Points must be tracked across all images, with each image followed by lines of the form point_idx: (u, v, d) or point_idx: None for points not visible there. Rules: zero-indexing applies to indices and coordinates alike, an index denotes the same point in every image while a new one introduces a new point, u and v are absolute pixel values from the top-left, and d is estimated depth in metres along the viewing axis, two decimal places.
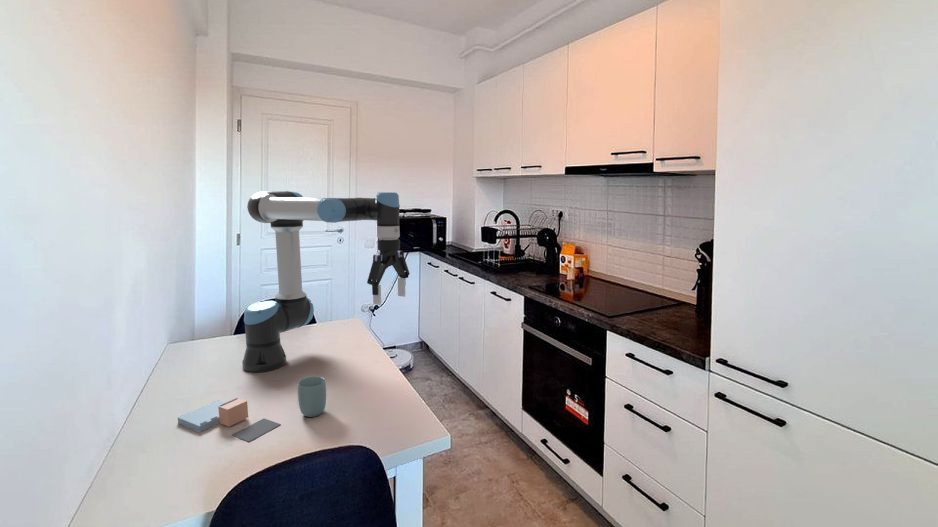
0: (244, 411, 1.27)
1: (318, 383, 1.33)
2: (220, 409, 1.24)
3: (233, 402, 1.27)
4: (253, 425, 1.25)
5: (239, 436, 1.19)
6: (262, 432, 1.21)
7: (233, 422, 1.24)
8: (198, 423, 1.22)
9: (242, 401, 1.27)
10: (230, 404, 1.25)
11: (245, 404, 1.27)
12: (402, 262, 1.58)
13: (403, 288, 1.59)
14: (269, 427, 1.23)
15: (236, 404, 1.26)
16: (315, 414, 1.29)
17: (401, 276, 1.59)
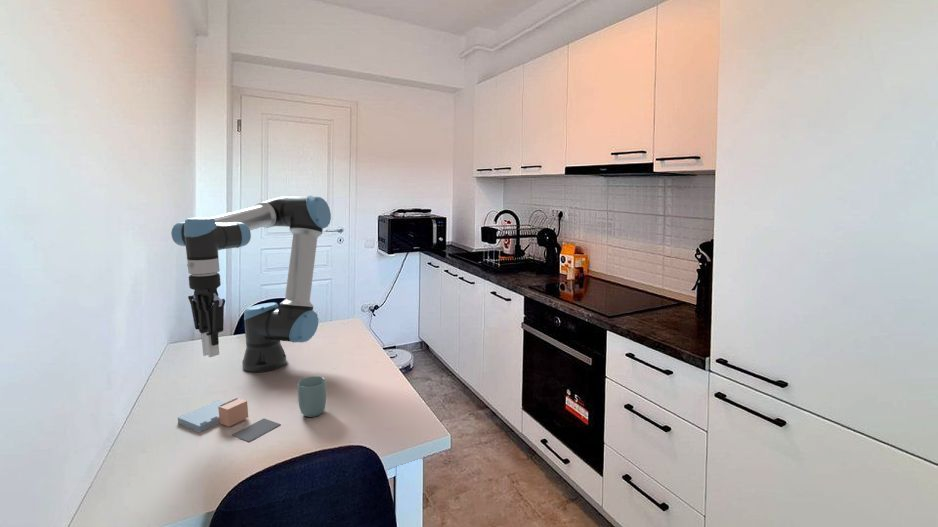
0: (244, 411, 1.27)
1: (318, 383, 1.33)
2: (220, 409, 1.24)
3: (233, 402, 1.27)
4: (253, 425, 1.25)
5: (239, 436, 1.19)
6: (262, 432, 1.21)
7: (233, 422, 1.24)
8: (198, 423, 1.22)
9: (242, 401, 1.27)
10: (230, 404, 1.25)
11: (245, 404, 1.27)
12: None
13: None
14: (269, 427, 1.23)
15: (236, 404, 1.26)
16: (315, 414, 1.29)
17: None
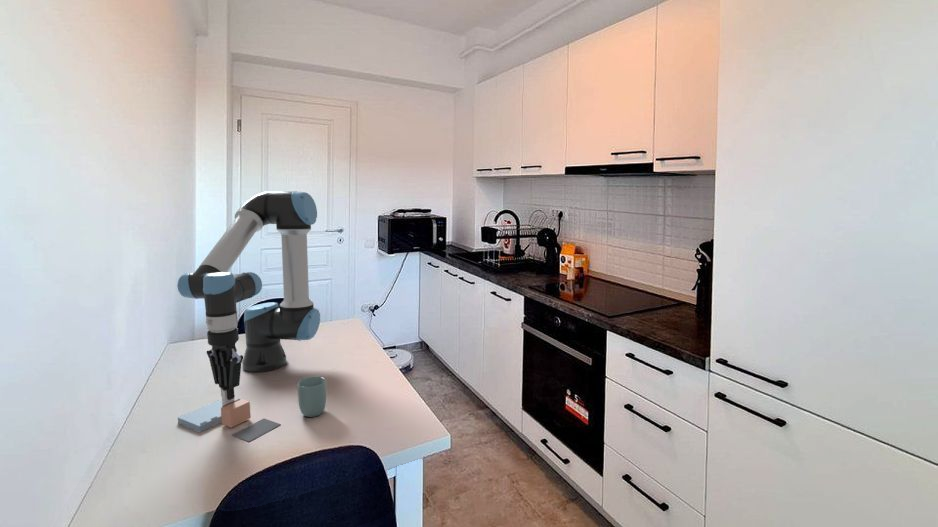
0: (246, 412, 1.27)
1: (318, 383, 1.33)
2: (222, 410, 1.24)
3: (235, 403, 1.26)
4: (253, 425, 1.25)
5: (239, 436, 1.19)
6: (262, 432, 1.21)
7: (235, 423, 1.24)
8: (198, 423, 1.22)
9: (244, 402, 1.27)
10: (232, 405, 1.25)
11: (247, 405, 1.27)
12: None
13: None
14: (269, 427, 1.23)
15: (238, 405, 1.25)
16: (315, 414, 1.29)
17: None
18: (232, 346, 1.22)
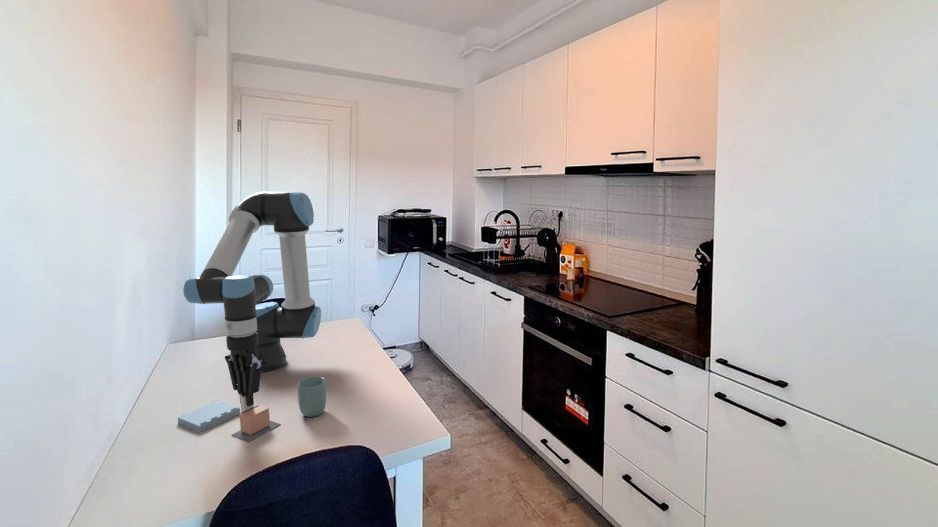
0: (266, 418, 1.23)
1: (318, 383, 1.33)
2: (241, 417, 1.20)
3: (254, 409, 1.23)
4: None
5: (239, 436, 1.19)
6: (262, 432, 1.21)
7: (255, 430, 1.20)
8: (198, 423, 1.22)
9: (264, 408, 1.23)
10: (252, 411, 1.21)
11: (267, 411, 1.23)
12: None
13: None
14: (269, 427, 1.23)
15: (258, 411, 1.21)
16: (315, 414, 1.29)
17: None
18: (252, 351, 1.19)
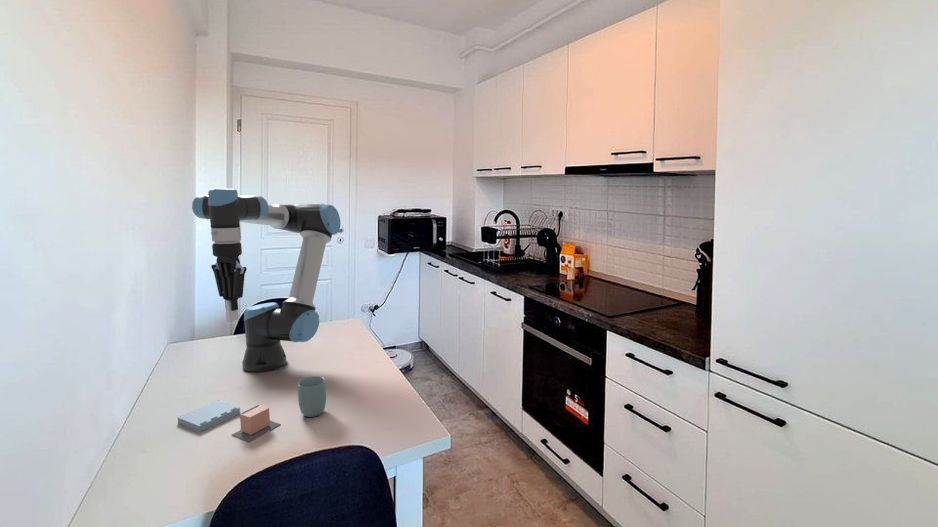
0: (266, 419, 1.23)
1: (318, 383, 1.33)
2: (242, 417, 1.20)
3: (255, 409, 1.23)
4: None
5: (239, 436, 1.19)
6: (262, 432, 1.21)
7: (255, 430, 1.20)
8: (198, 423, 1.22)
9: (264, 408, 1.23)
10: (252, 411, 1.21)
11: (267, 411, 1.23)
12: None
13: None
14: (269, 427, 1.23)
15: (258, 411, 1.21)
16: (315, 414, 1.29)
17: None
18: (236, 258, 1.29)
